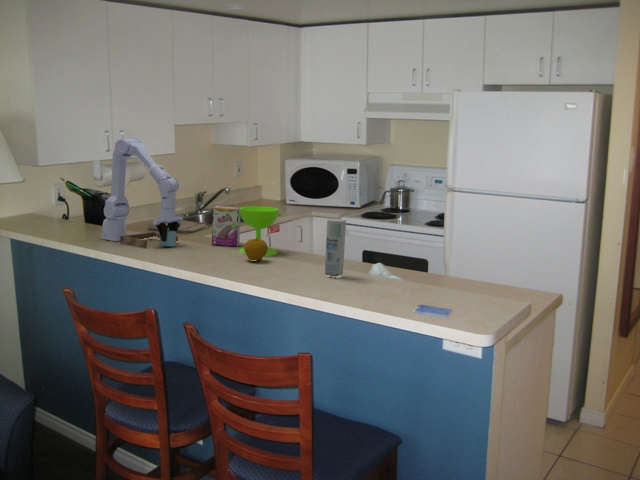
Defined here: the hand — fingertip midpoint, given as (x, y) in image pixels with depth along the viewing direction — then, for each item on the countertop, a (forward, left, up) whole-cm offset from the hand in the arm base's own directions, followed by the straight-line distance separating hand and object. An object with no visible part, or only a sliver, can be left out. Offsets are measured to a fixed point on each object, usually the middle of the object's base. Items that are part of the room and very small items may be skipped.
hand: (167, 240), depth 274 cm
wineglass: (+33, +18, -3) cm, 38 cm away
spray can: (+80, +2, -3) cm, 80 cm away
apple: (+44, +3, -3) cm, 44 cm away
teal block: (0, 0, -2) cm, 2 cm away
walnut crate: (-11, 0, -3) cm, 11 cm away
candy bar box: (+13, +21, -3) cm, 25 cm away
